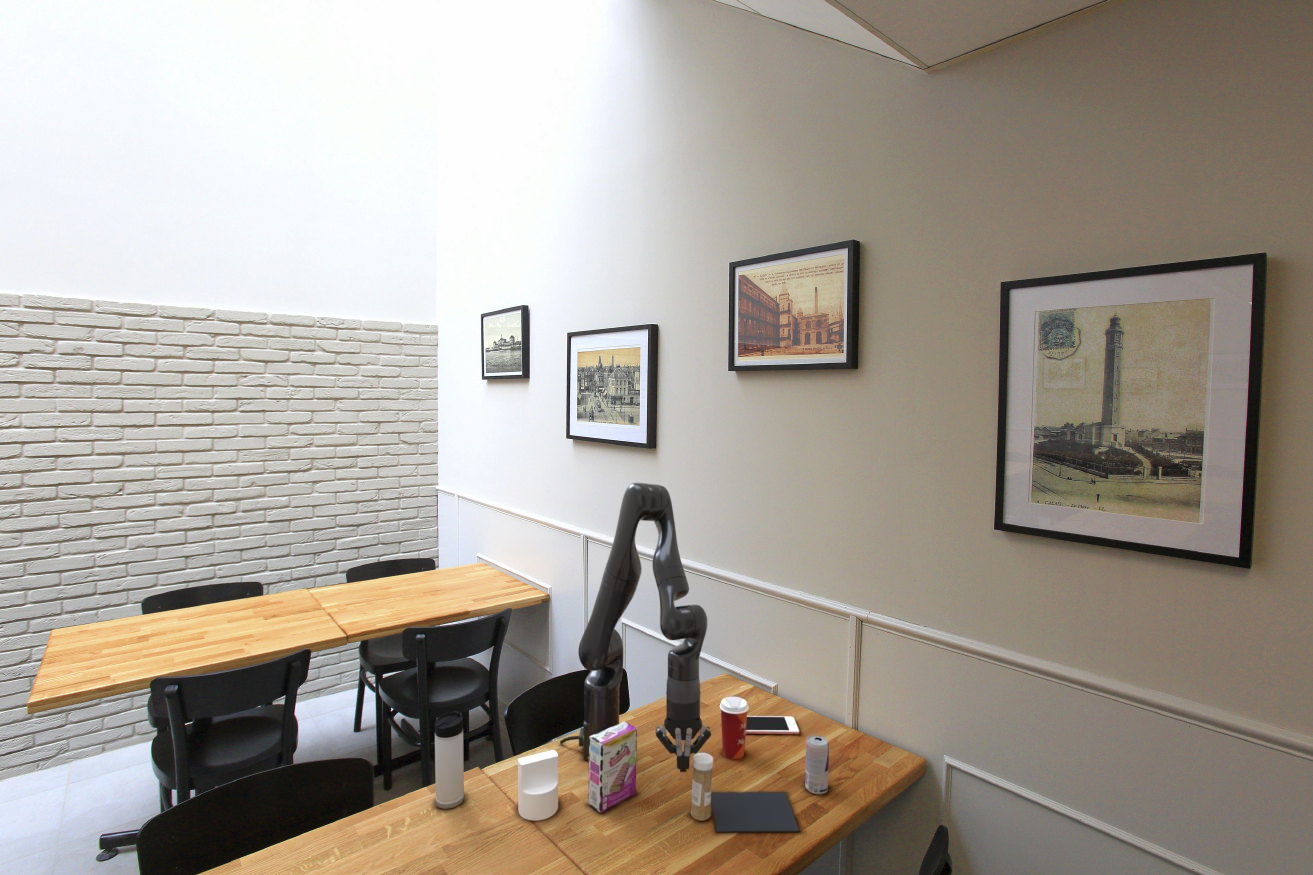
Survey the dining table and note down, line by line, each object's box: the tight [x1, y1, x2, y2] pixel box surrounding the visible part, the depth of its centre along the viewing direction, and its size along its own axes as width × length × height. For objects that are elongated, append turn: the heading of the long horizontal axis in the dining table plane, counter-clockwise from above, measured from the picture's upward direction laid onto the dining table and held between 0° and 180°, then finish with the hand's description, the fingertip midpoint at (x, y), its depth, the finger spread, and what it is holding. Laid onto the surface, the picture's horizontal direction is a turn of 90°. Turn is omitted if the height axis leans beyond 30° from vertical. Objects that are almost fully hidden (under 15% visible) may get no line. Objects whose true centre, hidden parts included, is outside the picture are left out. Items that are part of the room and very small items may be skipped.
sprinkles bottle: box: [690, 752, 714, 822], centre depth 147 cm, size 5×5×13 cm
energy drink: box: [804, 734, 830, 795], centre depth 157 cm, size 5×5×12 cm
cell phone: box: [746, 715, 800, 735], centre depth 187 cm, size 9×18×1 cm, turn 89°
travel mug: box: [434, 710, 465, 810], centre depth 152 cm, size 6×7×20 cm
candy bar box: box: [587, 720, 638, 814], centre depth 152 cm, size 11×5×16 cm, turn 134°
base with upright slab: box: [517, 749, 559, 822], centre depth 149 cm, size 9×9×12 cm
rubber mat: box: [711, 791, 800, 834], centre depth 148 cm, size 18×14×1 cm
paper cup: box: [719, 696, 750, 760], centre depth 173 cm, size 8×8×14 cm
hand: (682, 769), depth 146 cm, fingers closed
